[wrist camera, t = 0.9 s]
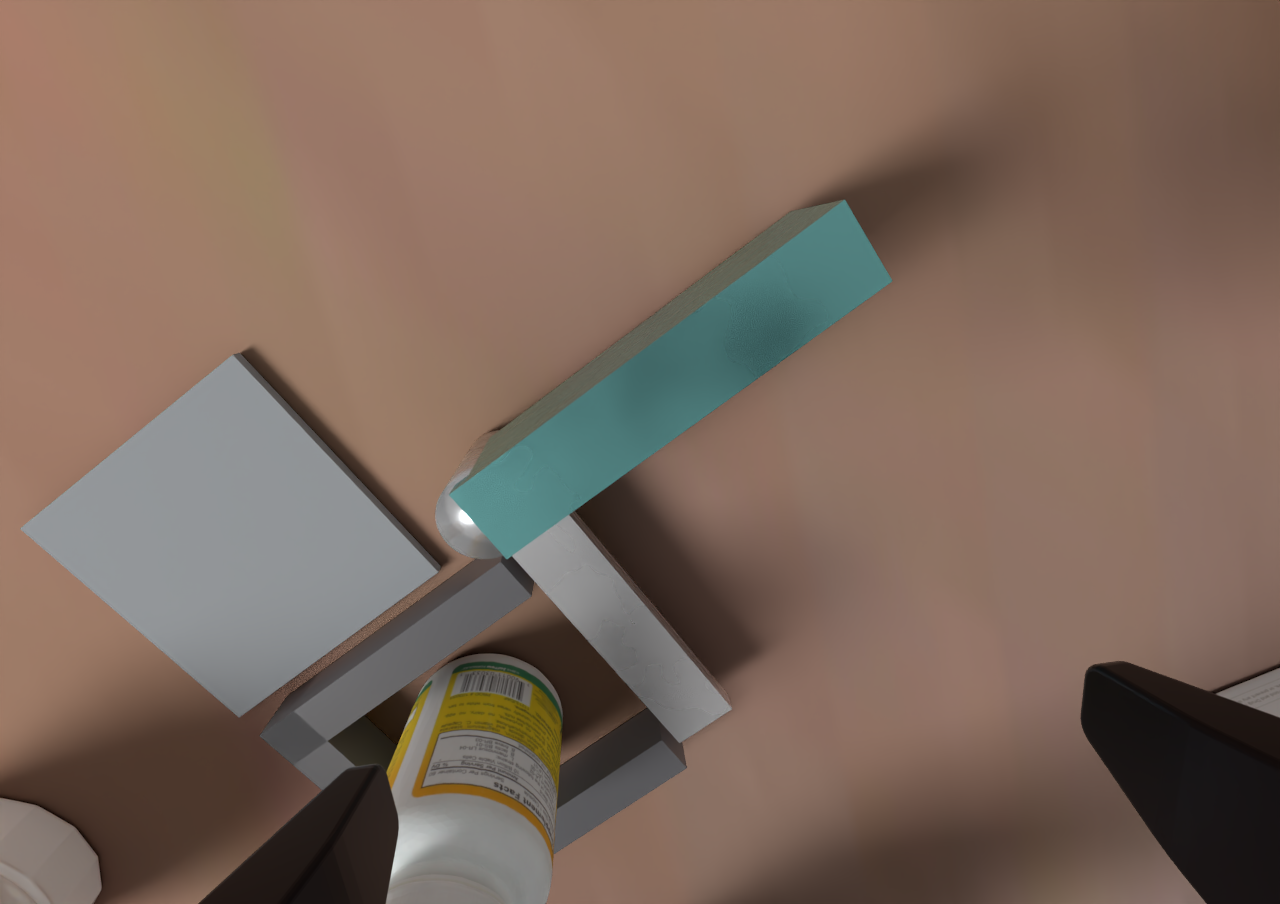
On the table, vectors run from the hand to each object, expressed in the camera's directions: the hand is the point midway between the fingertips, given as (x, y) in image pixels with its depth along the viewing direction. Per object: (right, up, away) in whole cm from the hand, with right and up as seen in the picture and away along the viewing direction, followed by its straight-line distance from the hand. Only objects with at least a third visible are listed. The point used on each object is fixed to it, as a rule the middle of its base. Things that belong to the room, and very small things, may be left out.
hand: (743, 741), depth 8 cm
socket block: (-7, -6, +16) cm, 18 cm away
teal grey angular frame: (+1, +2, +14) cm, 14 cm away
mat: (-14, +1, +13) cm, 19 cm away
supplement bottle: (-7, -6, +16) cm, 18 cm away
